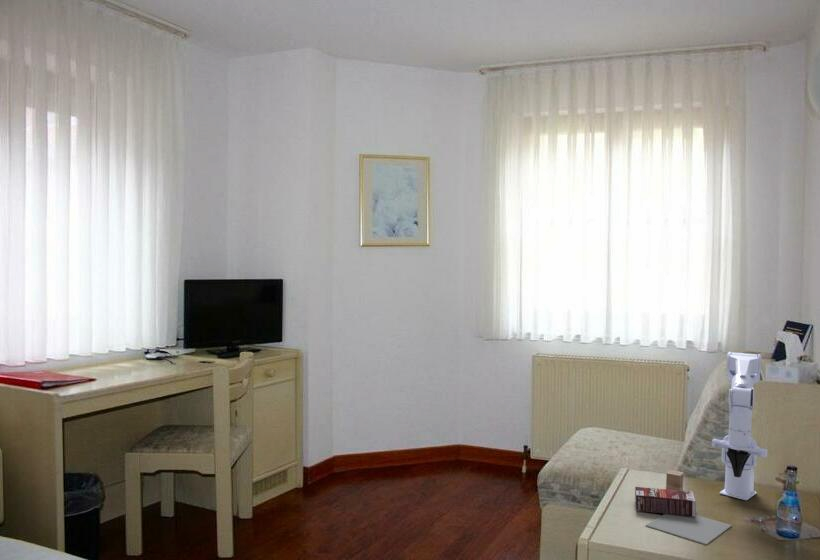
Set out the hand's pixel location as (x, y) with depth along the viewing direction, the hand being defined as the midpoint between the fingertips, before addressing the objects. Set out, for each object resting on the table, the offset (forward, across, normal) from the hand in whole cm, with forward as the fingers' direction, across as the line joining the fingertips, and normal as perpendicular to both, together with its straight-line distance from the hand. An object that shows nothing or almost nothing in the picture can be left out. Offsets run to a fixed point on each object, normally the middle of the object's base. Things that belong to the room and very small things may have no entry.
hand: (737, 476), depth 195 cm
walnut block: (+10, -18, 0) cm, 21 cm away
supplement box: (+8, -8, -11) cm, 15 cm away
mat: (+10, -5, -21) cm, 24 cm away
